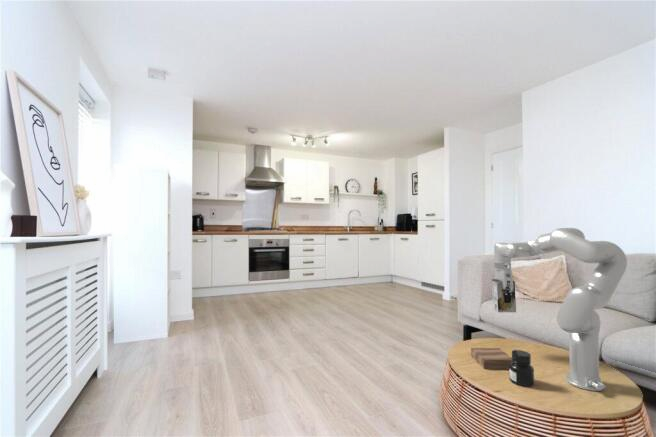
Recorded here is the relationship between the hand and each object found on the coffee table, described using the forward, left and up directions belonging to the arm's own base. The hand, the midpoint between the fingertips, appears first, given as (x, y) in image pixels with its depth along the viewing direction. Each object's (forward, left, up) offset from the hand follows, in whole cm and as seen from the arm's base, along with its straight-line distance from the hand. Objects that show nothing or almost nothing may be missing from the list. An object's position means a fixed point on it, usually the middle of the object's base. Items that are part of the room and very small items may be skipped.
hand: (503, 300), depth 163 cm
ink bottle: (-31, +9, -27) cm, 42 cm away
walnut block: (-12, +12, -27) cm, 31 cm away
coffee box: (0, 0, -5) cm, 5 cm away
